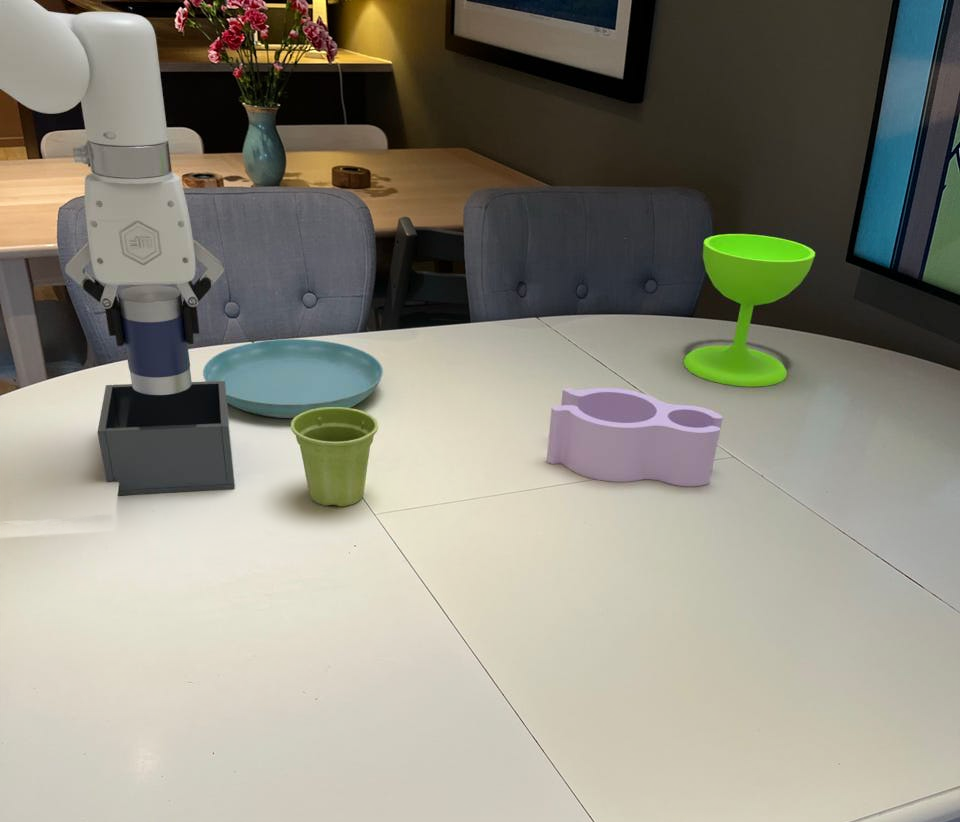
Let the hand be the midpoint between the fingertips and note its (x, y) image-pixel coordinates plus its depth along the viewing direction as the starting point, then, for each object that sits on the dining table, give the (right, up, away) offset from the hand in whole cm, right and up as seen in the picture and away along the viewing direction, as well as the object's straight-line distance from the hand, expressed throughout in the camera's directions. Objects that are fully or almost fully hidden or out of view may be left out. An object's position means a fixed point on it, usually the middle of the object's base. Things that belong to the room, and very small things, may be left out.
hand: (156, 339), depth 107 cm
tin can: (0, -4, +3) cm, 5 cm away
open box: (-1, -12, +9) cm, 15 cm away
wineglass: (+75, +10, +47) cm, 89 cm away
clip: (+54, -11, +16) cm, 57 cm away
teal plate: (+10, +2, +30) cm, 31 cm away
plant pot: (+19, -16, +5) cm, 26 cm away
